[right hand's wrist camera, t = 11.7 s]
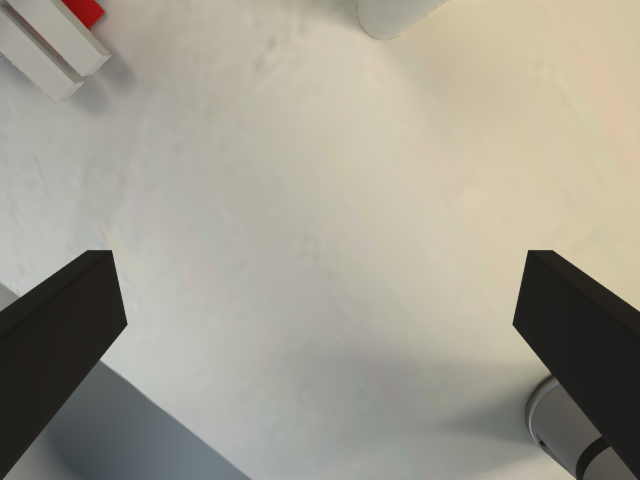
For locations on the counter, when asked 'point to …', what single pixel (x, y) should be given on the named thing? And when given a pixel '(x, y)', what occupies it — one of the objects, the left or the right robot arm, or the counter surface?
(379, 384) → the counter surface
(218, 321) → the counter surface
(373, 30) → the bottle
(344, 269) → the counter surface
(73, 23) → the toy
